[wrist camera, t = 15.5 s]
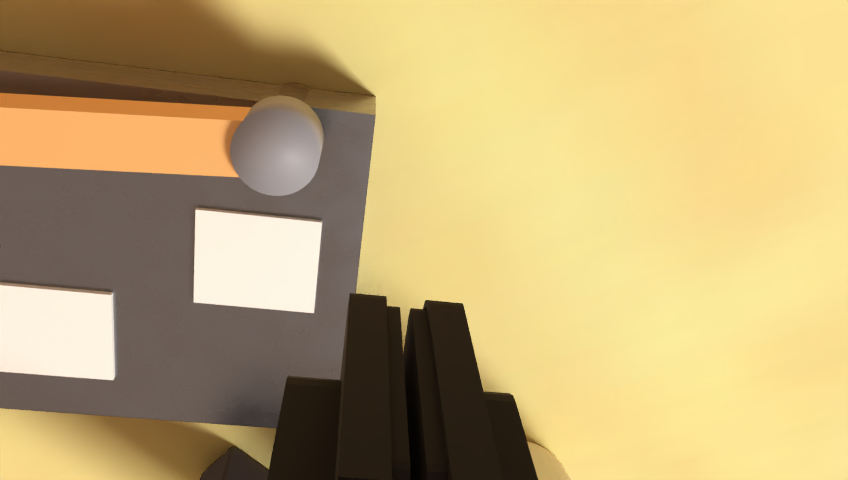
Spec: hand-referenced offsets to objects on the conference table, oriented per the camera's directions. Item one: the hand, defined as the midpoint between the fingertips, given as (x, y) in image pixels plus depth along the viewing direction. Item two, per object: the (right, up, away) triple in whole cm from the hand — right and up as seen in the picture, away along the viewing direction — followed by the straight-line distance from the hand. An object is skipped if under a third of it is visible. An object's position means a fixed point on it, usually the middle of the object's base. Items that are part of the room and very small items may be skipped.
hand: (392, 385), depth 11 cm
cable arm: (-14, +7, +21) cm, 26 cm away
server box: (-14, +2, +30) cm, 33 cm away
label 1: (-18, -2, +27) cm, 33 cm away
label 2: (-8, +1, +26) cm, 27 cm away
